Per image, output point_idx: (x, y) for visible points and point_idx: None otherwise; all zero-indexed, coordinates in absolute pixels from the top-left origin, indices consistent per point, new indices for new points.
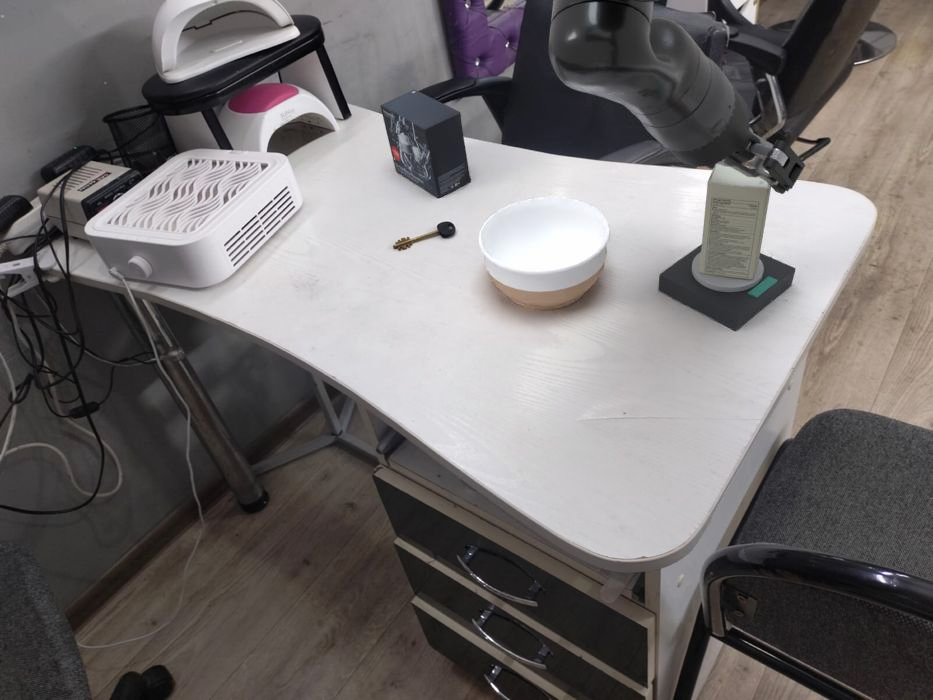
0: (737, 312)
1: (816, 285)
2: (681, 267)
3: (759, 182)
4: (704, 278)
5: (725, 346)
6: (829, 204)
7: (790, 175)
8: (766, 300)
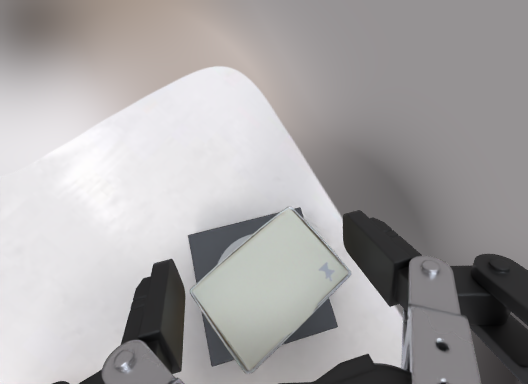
0: (334, 325)
1: (308, 193)
2: None
3: (324, 274)
4: None
5: (345, 351)
6: (208, 87)
7: (509, 314)
8: None
